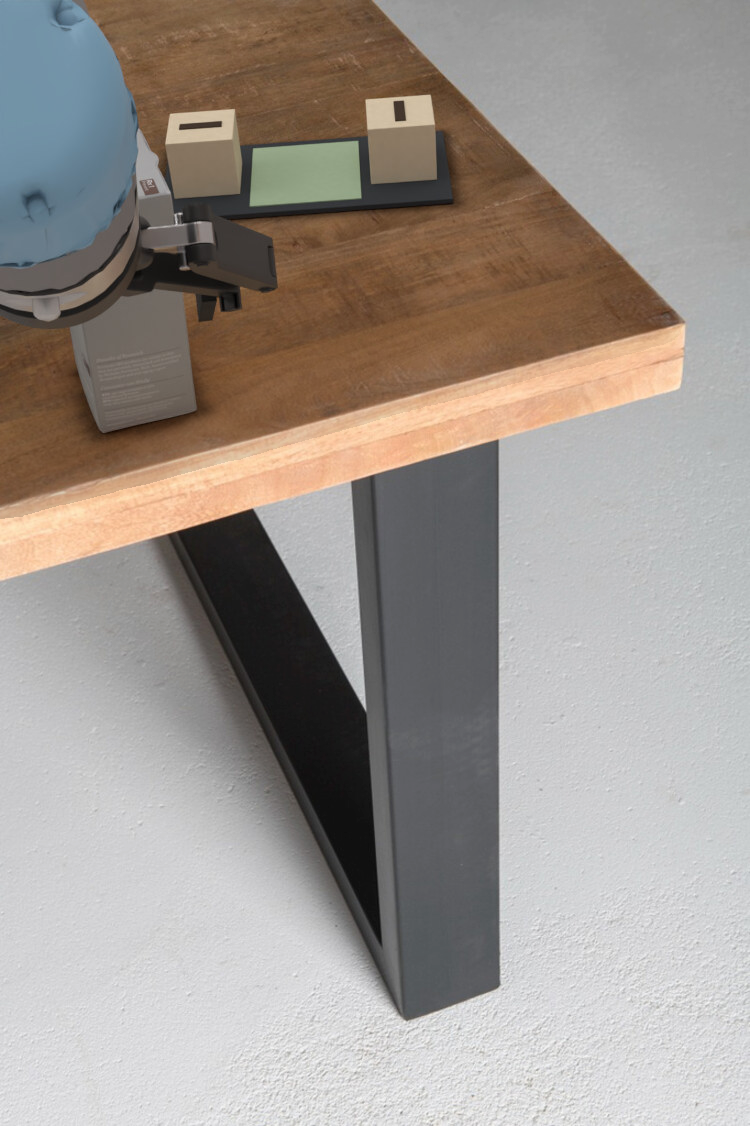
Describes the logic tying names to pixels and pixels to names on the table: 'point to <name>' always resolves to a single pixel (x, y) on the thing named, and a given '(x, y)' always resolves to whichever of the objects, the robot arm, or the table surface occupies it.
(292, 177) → the dark base board
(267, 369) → the table surface
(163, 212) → the cosmetic box
